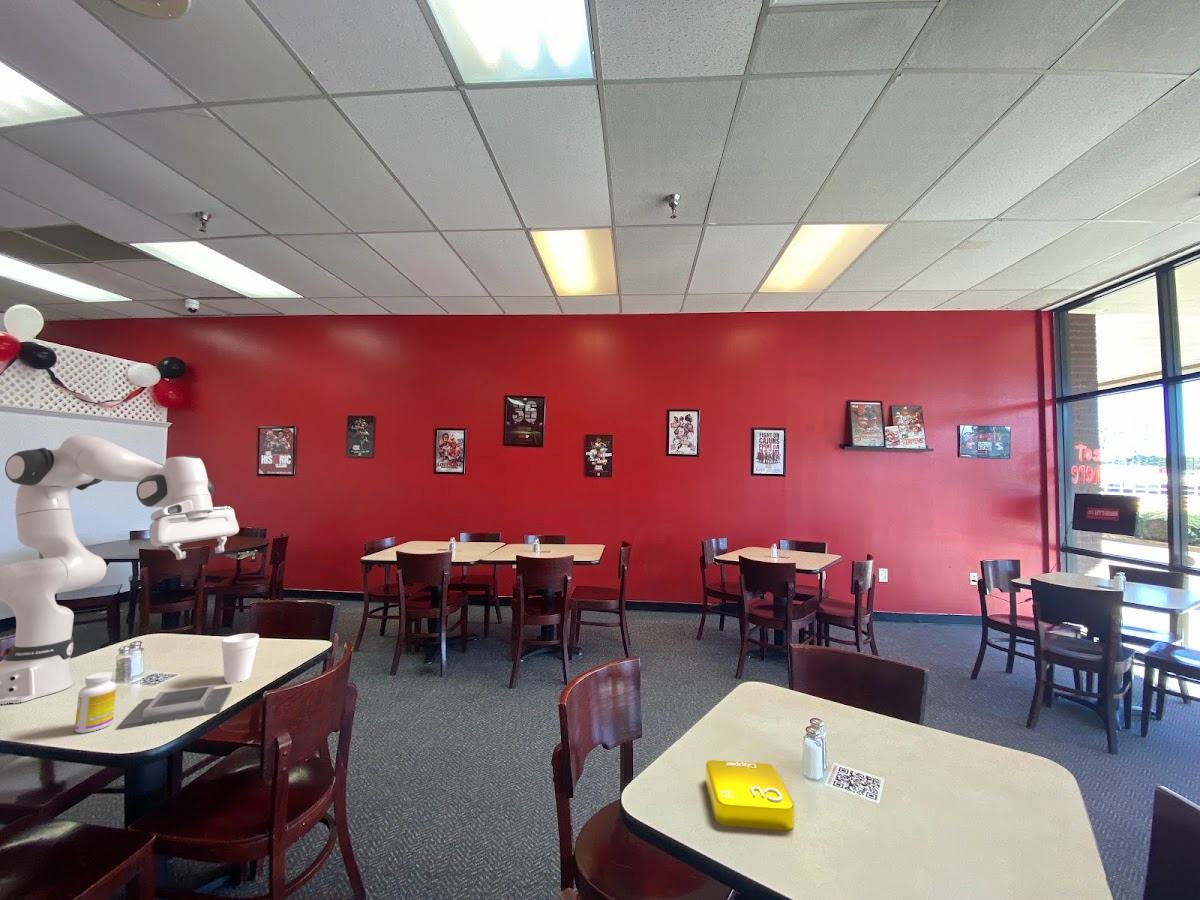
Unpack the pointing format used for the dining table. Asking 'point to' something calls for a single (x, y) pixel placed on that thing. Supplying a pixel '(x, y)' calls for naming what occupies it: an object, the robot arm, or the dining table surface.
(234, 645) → the foam cup
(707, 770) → the element tile
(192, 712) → the grey tray
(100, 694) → the supplement bottle
